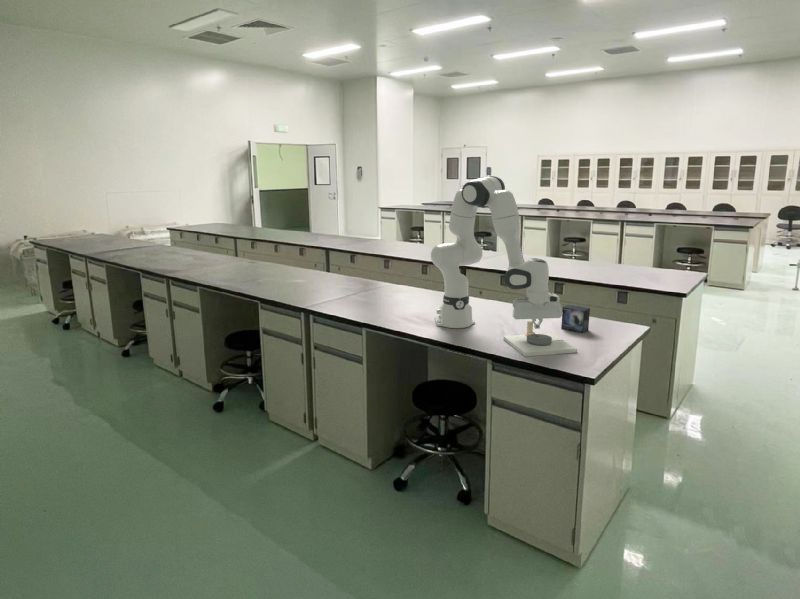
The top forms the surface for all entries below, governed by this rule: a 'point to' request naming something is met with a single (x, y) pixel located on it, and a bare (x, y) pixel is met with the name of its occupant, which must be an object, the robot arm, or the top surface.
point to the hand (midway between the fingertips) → (536, 328)
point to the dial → (536, 336)
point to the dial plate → (532, 350)
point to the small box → (575, 318)
